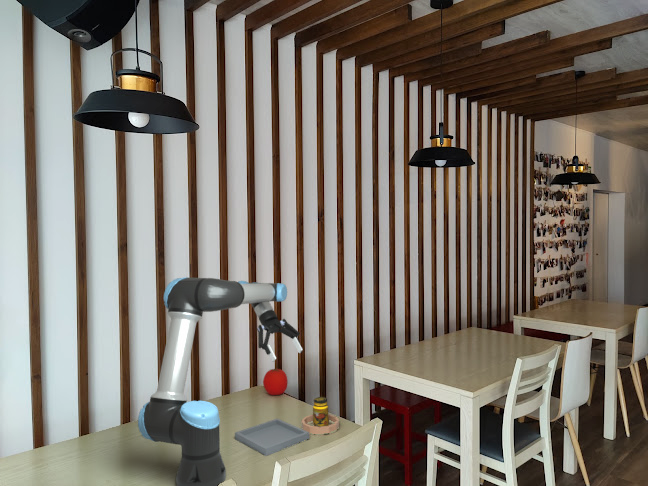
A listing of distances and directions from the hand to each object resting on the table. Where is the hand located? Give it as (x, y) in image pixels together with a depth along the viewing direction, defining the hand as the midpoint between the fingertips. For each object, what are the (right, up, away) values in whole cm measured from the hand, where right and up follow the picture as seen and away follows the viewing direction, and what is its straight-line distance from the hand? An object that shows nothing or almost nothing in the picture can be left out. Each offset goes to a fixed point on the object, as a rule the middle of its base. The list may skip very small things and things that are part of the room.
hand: (288, 355), depth 201 cm
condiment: (+14, -27, -10) cm, 31 cm away
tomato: (-8, -27, +32) cm, 42 cm away
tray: (-4, -27, -20) cm, 34 cm away
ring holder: (+14, -26, -10) cm, 31 cm away
